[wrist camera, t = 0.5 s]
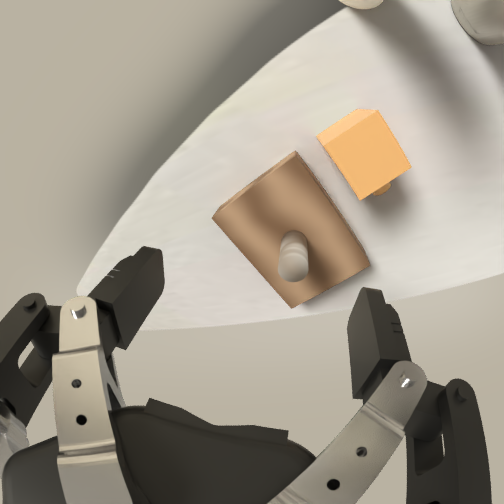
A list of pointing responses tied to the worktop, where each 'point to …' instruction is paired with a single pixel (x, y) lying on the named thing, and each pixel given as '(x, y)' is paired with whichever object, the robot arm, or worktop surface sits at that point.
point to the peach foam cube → (365, 152)
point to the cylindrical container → (362, 3)
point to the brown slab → (292, 232)
